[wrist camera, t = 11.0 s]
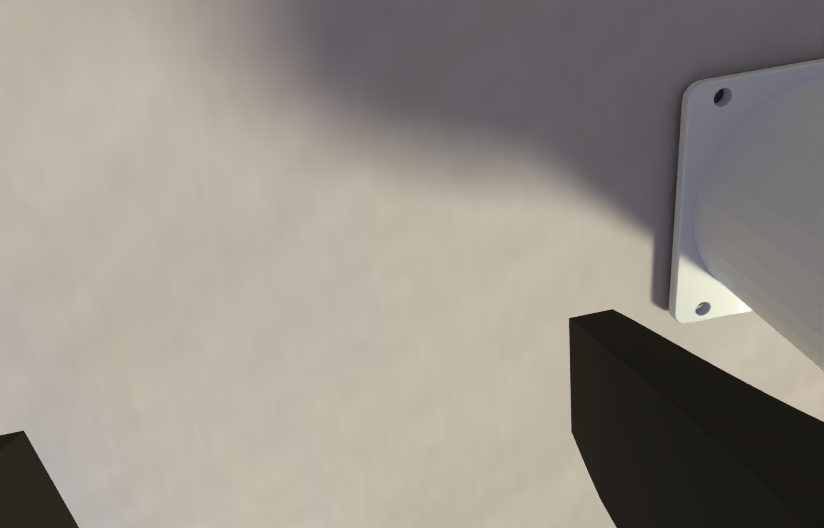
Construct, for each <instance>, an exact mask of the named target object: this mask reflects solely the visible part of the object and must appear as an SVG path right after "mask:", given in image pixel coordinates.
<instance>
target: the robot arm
mask: <svg viewBox="0 0 824 528" xmlns="http://www.w3.org/2000/svg"><path fill="white" fill-rule="evenodd" d="M722 88H723V90H724V94H723V97H722V99H721V100H720V101H719V102H717V103H715V104H714V97H715V94H716V93H717V92H718V91H719V90H720V89H722ZM702 302H704V303H703V305H702V306H701V307H700V308H698V309H696V307H697V306H698V305H699V304H700V303H702ZM752 310H753V311H754V312H755V313H756V314H758V315H759V316H760V317H761V318H762V319H763V320H765V321H766V322H767V323H768V324H769V325H771V326H772V327H773V328H774V329H775V330H776V331H778V332H779V333H780V334H781V335H782V336H783V337H785V338H786V339H787V340H788V341H789V342H790V343H792V344H793V345H794V346H795V347H796V348H798V349H799V350H800V351H801V352H802V353H803V354H805V355H806V356H807V357H808V358H809V359H810V360H812V361H813V362H814V363H815V364H816V365H817V366H819V367H820V368H821V369H822V370H823V371H824V58H823V59H818V60H812V61H806V62H800V63H795V64H789V65H783V66H777V67H772V68H766V69H760V70H754V71H749V72H743V73H737V74H732V75H726V76H720V77H714V78H709V79H703V80H699V81H696V82H694V83H692V84H691V85H690V86H689V87H688V88H687V89H686V91H685V93H684V95H683V99H682V109H681V125H680V141H679V156H678V172H677V188H676V203H675V219H674V235H673V250H672V266H671V282H670V297H669V313H670V315H671V316H672V317H673V318H674V319H675V320H676V321H677V322H679V323H681V324H682V323H691V322H696V321H701V320H707V319H712V318H717V317H722V316H727V315H732V314H737V313H742V312H747V311H752ZM569 335H570V380H571V425H572V434H573V436H574V439H575V441H576V444H577V446H578V448H579V451H580V453H581V456H582V458H583V460H584V463H585V465H586V468H587V470H588V472H589V474H590V477H591V479H592V481H593V483H594V486H595V488H596V490H597V492H598V495H599V497H600V499H601V501H602V503H603V504H604V506H605V508H606V510H607V511H608V513H609V515H610V517H611V519H612V520H613V522H614V524H615V526H616V527H617V528H824V422H823V421H821V420H818V419H816V418H814V417H812V416H810V415H808V414H806V413H804V412H802V411H800V410H798V409H796V408H794V407H792V406H790V405H788V404H786V403H784V402H782V401H780V400H778V399H776V398H774V397H772V396H770V395H768V394H766V393H764V392H762V391H761V390H759V389H757V388H755V387H753V386H751V385H749V384H747V383H745V382H743V381H742V380H740V379H738V378H736V377H734V376H732V375H731V374H729V373H727V372H725V371H723V370H721V369H719V368H718V367H716V366H714V365H712V364H710V363H709V362H707V361H705V360H703V359H701V358H700V357H698V356H696V355H694V354H692V353H691V352H689V351H687V350H685V349H684V348H682V347H680V346H678V345H676V344H675V343H673V342H671V341H669V340H668V339H666V338H664V337H662V336H661V335H659V334H657V333H655V332H653V331H652V330H650V329H648V328H646V327H645V326H643V325H641V324H639V323H637V322H636V321H634V320H632V319H630V318H628V317H626V316H625V315H623V314H621V313H619V312H617V311H615V310H613V309H612V310H607V311H602V312H597V313H592V314H587V315H582V316H578V317H573V318H569ZM0 528H79V527H78V525H77V524H76V522H75V520H74V518H73V517H72V515H71V513H70V511H69V510H68V508H67V506H66V504H65V503H64V501H63V499H62V497H61V496H60V494H59V492H58V490H57V488H56V487H55V485H54V483H53V481H52V480H51V478H50V476H49V474H48V473H47V471H46V469H45V467H44V466H43V464H42V462H41V460H40V459H39V457H38V455H37V453H36V452H35V450H34V448H33V446H32V445H31V443H30V441H29V439H28V437H27V436H26V434H25V432H24V431H20V432H15V433H10V434H5V435H0Z"/></svg>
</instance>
